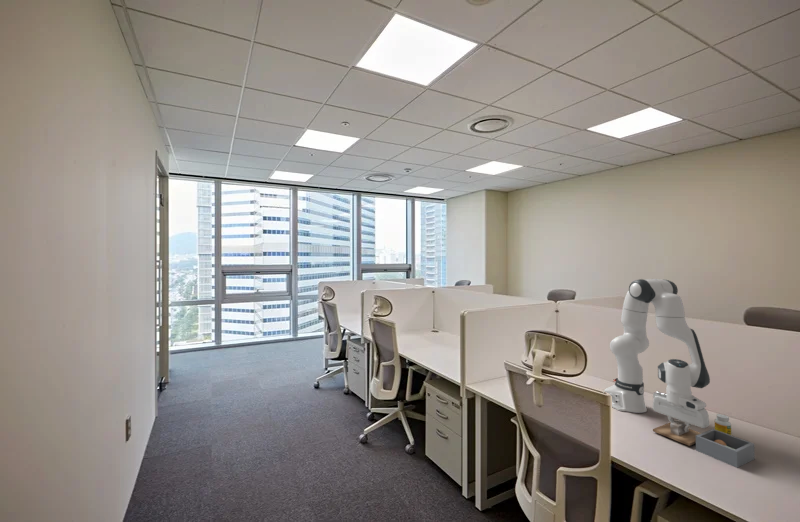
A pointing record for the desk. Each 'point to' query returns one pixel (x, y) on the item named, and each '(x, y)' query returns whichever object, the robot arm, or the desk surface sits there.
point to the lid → (678, 432)
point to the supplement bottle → (723, 424)
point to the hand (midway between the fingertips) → (679, 429)
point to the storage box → (725, 448)
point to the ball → (720, 442)
